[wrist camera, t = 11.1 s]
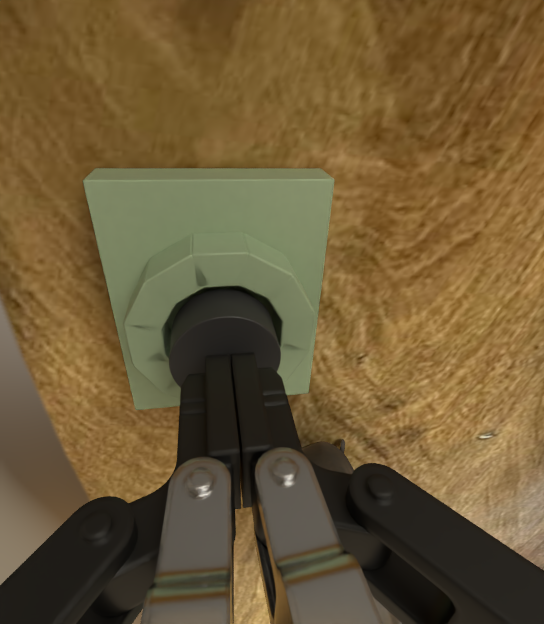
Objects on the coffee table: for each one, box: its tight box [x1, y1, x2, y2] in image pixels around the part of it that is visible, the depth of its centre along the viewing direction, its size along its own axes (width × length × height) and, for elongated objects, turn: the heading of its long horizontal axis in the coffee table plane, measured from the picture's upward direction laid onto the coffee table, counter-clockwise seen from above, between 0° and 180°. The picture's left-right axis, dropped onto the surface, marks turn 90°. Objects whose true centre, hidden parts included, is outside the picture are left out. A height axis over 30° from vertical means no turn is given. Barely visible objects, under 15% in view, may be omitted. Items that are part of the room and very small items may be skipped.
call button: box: [169, 289, 281, 388], centre depth 13 cm, size 4×4×2 cm
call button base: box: [83, 168, 334, 410], centre depth 15 cm, size 10×8×4 cm
